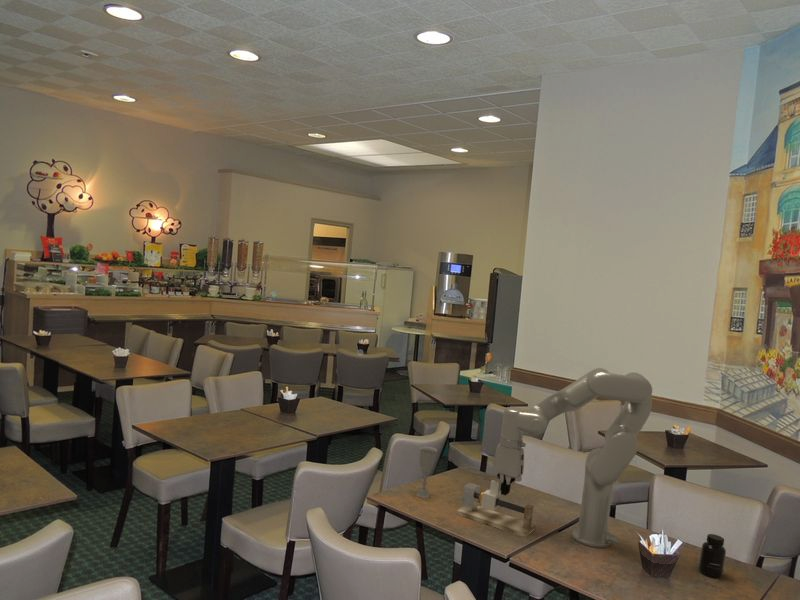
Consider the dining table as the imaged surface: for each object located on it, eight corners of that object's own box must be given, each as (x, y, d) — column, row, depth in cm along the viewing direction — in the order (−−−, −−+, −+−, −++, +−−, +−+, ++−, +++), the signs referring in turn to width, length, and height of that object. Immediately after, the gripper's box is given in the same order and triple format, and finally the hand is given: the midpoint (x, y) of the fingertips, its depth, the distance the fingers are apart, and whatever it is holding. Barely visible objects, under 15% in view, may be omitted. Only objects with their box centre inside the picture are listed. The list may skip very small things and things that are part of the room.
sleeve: (499, 507, 227) (502, 481, 226) (493, 510, 223) (496, 484, 222) (486, 503, 230) (489, 477, 229) (480, 506, 225) (483, 480, 225)
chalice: (415, 490, 247) (420, 445, 246) (432, 493, 246) (437, 448, 245) (413, 497, 240) (418, 450, 239) (430, 500, 239) (436, 453, 238)
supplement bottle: (711, 579, 197) (716, 542, 197) (693, 569, 204) (698, 533, 203) (727, 577, 200) (732, 540, 199) (709, 567, 206) (714, 531, 206)
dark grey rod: (526, 513, 220) (527, 507, 220) (524, 514, 218) (525, 509, 218) (471, 495, 231) (472, 490, 231) (469, 497, 229) (470, 491, 229)
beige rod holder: (535, 528, 222) (538, 503, 222) (525, 537, 214) (528, 511, 213) (468, 506, 236) (471, 483, 235) (456, 514, 227) (459, 489, 227)
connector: (484, 510, 230) (487, 487, 229) (478, 514, 226) (481, 491, 225) (467, 505, 234) (470, 482, 233) (461, 508, 229) (464, 485, 229)
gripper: (534, 446, 221) (528, 497, 222) (495, 436, 229) (489, 485, 230) (527, 450, 215) (520, 503, 216) (487, 439, 223) (480, 490, 224)
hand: (504, 493), depth 223 cm, fingers closed
